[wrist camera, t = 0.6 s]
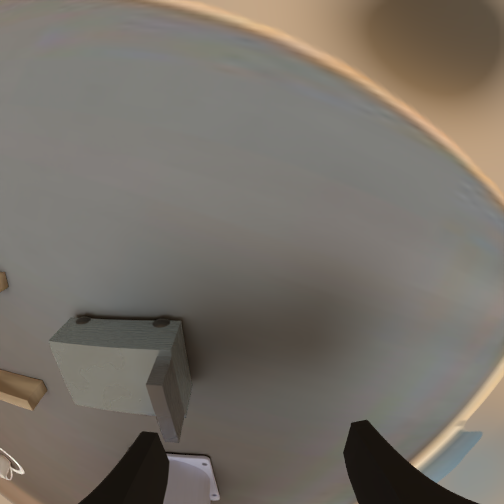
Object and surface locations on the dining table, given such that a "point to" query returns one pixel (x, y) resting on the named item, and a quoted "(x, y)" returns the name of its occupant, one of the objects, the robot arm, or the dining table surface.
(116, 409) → the grey stepped block
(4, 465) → the teacup and saucer
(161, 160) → the dining table surface
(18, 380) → the dock bay
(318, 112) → the dining table surface
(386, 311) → the dining table surface
